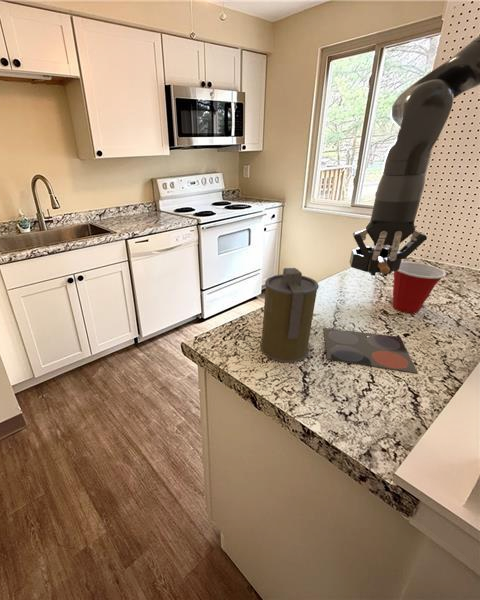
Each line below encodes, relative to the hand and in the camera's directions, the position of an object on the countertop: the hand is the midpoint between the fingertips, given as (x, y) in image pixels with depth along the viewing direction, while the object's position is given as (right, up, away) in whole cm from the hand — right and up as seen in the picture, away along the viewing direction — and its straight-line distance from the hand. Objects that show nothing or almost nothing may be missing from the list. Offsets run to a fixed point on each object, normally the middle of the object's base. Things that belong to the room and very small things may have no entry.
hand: (378, 274), depth 72 cm
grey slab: (-3, -17, 0) cm, 17 cm away
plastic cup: (+18, -8, +14) cm, 25 cm away
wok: (+1, +1, +3) cm, 3 cm away
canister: (-21, -18, +2) cm, 28 cm away
